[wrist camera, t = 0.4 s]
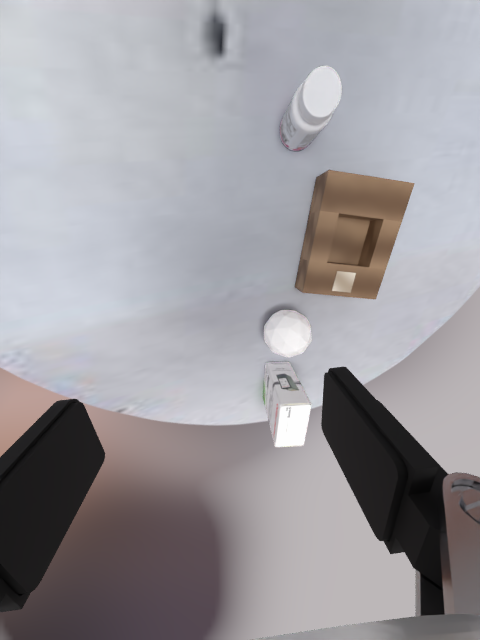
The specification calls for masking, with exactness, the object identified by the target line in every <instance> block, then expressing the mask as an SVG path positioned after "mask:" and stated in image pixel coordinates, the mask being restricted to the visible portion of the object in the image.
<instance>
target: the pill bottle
mask: <svg viewBox="0 0 480 640" xmlns="http://www.w3.org/2000/svg"><path fill="white" fill-rule="evenodd" d="M341 94H342V85H341V80H340V77H339V75H338V73H337V72H336V71H335V70H334V69H333V68H331V67H329V66H320V67H317V68H316V69H314V70H313V71H312V72H311V73H310V74H309V75H308V77H307V78H306V80H305V81H304V82H303V83H302V84H301V85H300V86H299V87H298V89H297V90H296V92H295V94H294V96H293V98H292V100H291V102H290V104H289V106H288V108H287V110H286V112H285V114H284V116H283V118H282V121H281V124H280V137H281V140H282V142H283V144H284V145H285V146H286V147H287V148H288V149H290V150H293V151H299V150H302V149H304V148H305V147H307V146H308V145H309V144H310V143H311V142H312V141H313V139H314V138H315V137H316V136H317V135H318V134H319V133H320V132H321V131H322V130H323V128H324V127H325V126H326V125H327V124H328V122H329V121H330V119H331V117H332V114H333V111H334V110H335V109H336V107H337V106H338V104H339V101H340V98H341Z"/></svg>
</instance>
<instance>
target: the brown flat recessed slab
mask: <svg viewBox="0 0 480 640" xmlns="http://www.w3.org/2000/svg"><path fill="white" fill-rule="evenodd" d="M413 186H414V183H409V182H403V181H396V180H390V179H384V178H377V177H371V176H364V175H358V174H352V173H345V172H339V171H332V170H328V171H326V172H325V173H323V174H322V175H320V176H318V177H317V178H316V182H315V187H314V192H313V197H312V202H311V207H310V213H309V218H308V223H307V228H306V233H305V238H304V243H303V248H302V253H301V258H300V263H299V268H298V273H297V278H296V283H295V287H296V288H297V289H298V290H300V291H301V292H303V293H313V294H324V295H334V296H345V297H356V298H367V299H376V297H377V294H378V291H379V288H380V285H381V282H382V279H383V276H384V273H385V270H386V267H387V264H388V261H389V258H390V255H391V252H392V249H393V246H394V243H395V240H396V237H397V234H398V231H399V228H400V225H401V222H402V219H403V216H404V213H405V210H406V207H407V204H408V201H409V198H410V195H411V192H412V189H413Z"/></svg>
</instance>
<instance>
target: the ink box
mask: <svg viewBox="0 0 480 640" xmlns="http://www.w3.org/2000/svg"><path fill="white" fill-rule="evenodd" d="M263 399H264V403H265V407H266V412H267V416H268V420H269V424H270V428H271V433H272V437H273V441H274V445H275V447H289V446H290V447H291V446H303V445H304V442H305V436H306V431H307V425H308V420H309V415H310V410H311V402H310V400H309V398H308V396H307V394H306V392H305V391H304V389H303V387H302V385H301V383H300V381H299V379H298V377H297V375H296V374H295V372H294V370H293V368H292V366H291V364H290V362H267V363H265V376H264V390H263Z"/></svg>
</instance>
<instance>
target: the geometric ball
mask: <svg viewBox="0 0 480 640" xmlns="http://www.w3.org/2000/svg"><path fill="white" fill-rule="evenodd" d="M264 341H265V342H266V344H267V345H268V346H269V348H270V349H271V351H272V352H273V353H275V354H278V355H281V356H284V357H287V358H289V357H292V356H295V355H298V354H302V353H303V352H304V351H305V349H306V348H307V347H308V345H309V344H310V342H311V341H312V337H311V325H310V323H309V321H308V319H307V318H306V317H305V316H303V315H302V314H300V313H298V312H297V311H295V310H280V311H278V312H276V313H274V314H273V315H272V316H271V317H270V319H269V320H268V321H267V323H266V324H265V325H264Z"/></svg>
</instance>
